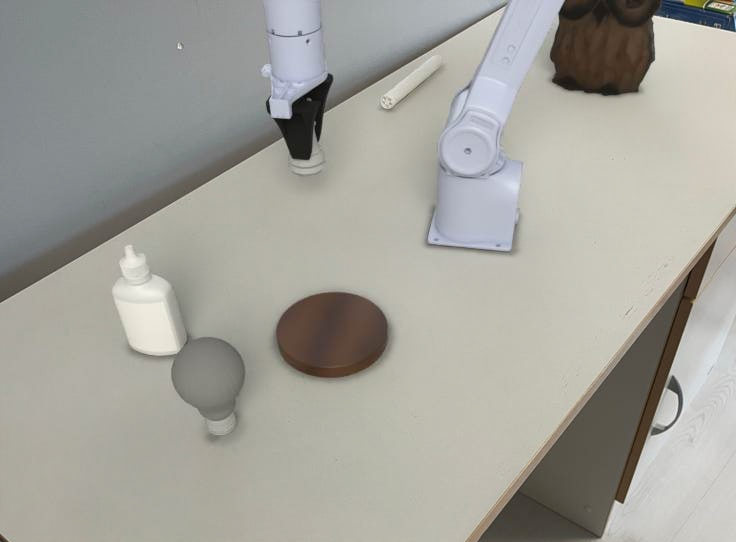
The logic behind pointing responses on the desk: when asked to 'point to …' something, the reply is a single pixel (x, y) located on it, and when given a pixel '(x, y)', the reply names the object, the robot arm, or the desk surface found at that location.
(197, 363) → the light bulb
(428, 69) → the cream white rod
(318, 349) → the walnut coaster
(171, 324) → the eye dropper bottle
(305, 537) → the desk surface
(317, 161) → the rook chess piece
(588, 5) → the owl
